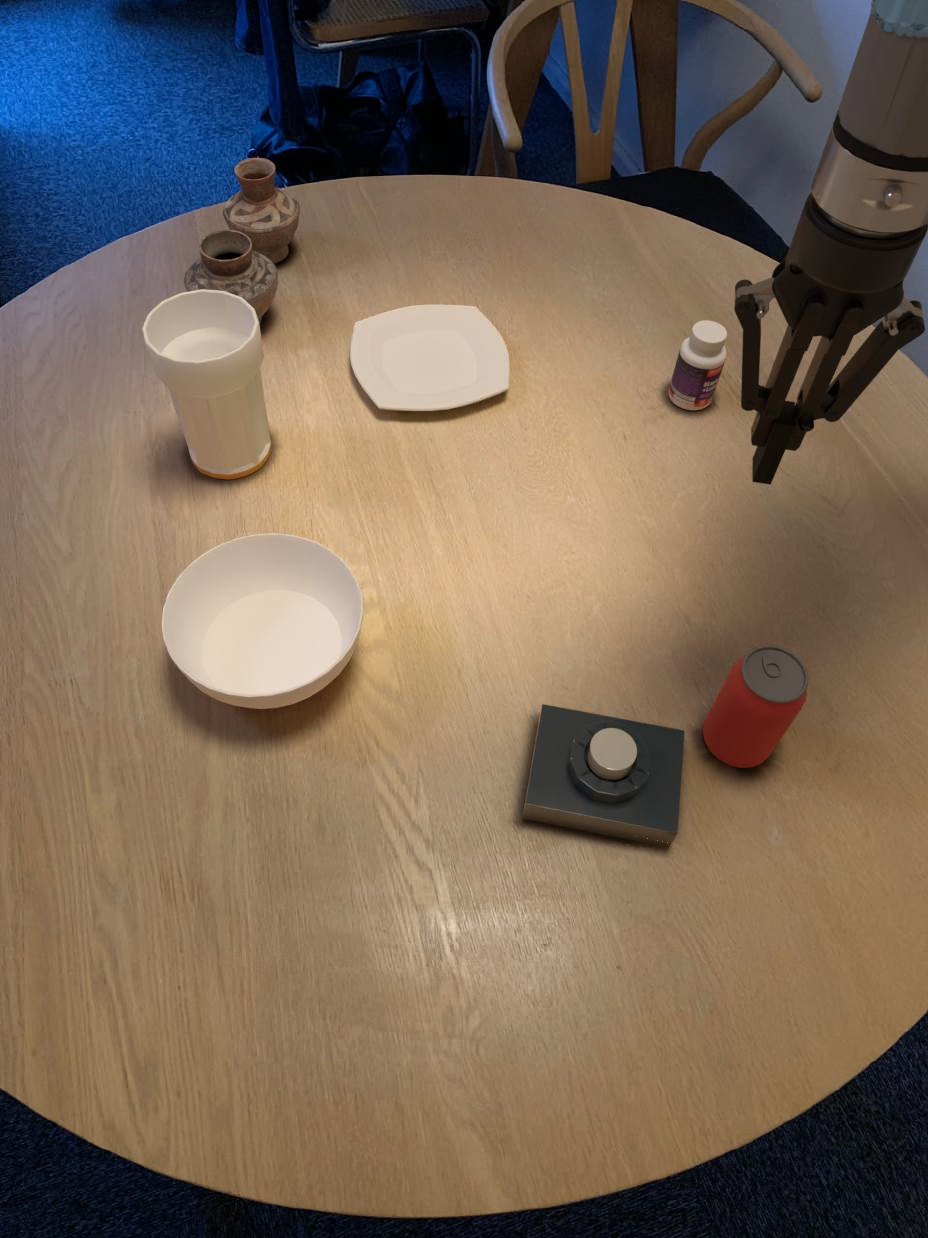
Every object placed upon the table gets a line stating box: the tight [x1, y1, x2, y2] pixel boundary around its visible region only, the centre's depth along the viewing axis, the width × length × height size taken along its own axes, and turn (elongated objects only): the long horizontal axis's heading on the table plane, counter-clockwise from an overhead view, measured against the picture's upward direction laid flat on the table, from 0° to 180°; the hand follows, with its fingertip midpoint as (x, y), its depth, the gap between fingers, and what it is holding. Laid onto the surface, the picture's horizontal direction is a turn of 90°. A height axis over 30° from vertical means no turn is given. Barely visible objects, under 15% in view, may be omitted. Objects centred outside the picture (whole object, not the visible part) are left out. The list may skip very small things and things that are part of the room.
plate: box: [349, 304, 511, 412], centre depth 114 cm, size 19×19×2 cm
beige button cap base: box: [522, 703, 685, 848], centre depth 82 cm, size 13×10×5 cm
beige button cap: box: [587, 728, 637, 780], centre depth 80 cm, size 4×4×2 cm
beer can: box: [702, 644, 810, 769], centre depth 82 cm, size 7×7×12 cm
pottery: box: [183, 157, 301, 325], centre depth 118 cm, size 11×25×12 cm, turn 173°
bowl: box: [161, 532, 365, 710], centre depth 88 cm, size 18×18×7 cm
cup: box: [141, 289, 273, 480], centre depth 99 cm, size 11×11×17 cm
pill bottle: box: [668, 319, 728, 411], centre depth 110 cm, size 5×5×10 cm
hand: (761, 471), depth 77 cm, fingers closed
